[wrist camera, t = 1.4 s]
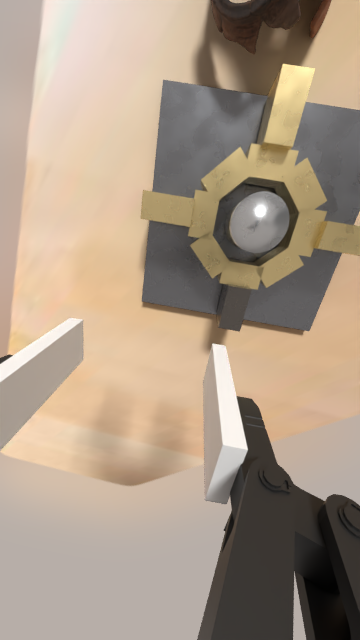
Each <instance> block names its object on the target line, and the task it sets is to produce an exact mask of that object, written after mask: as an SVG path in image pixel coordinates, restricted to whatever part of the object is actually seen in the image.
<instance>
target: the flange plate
mask: <svg viewBox="0 0 360 640" xmlns="http://www.w3.org/2000/svg"><path fill="white" fill-rule="evenodd" d="M267 97H268V96H264V95H258V94H251V93H245V92H238V91H232V90H226V89H219V88H213V87H206V86H200V85H193V84H187V83H181V82H174V81H168V80H163V87H162V97H161V108H160V118H159V129H158V139H157V149H156V160H155V170H154V180H153V191H152V192H158V193H164V194H170V195H176V196H181V197H187V198H193V199H194V196H195V190H201V191H204V190H203V189H202V187H201V179H202V178H204V177H205V176H206V175H207V174H208V173H210V172H211V171H212V170H213V169H214V168H215V167H217V166H218V165H219V164H220V163H221V162H223V161H224V160H225V159H226V158H227V157H229V156H230V155H231V154H232V153H233V152H235V151H236V150H237V149H238V148H239V147H241V149H242V151H243V152H244V154H245V153H246V152H247V150H248V148H249V146H250V145H251V143H252V144H256V143H257V139H258V135H259V131H260V126H261V122H262V118H263V114H264V109H265V105H266V101H267ZM290 150H296V151H299V152H298V156H297V159H296V162H295V166H296V165H297V164H298V163H300V162H301V161H303V160H304V159H306V158H308V160H309V162H310V164H311V167H312V169H313V171H314V173H315V175H316V177H317V179H318V182H319V184H320V186H321V188H322V190H323V192H324V195H325V197H326V199H327V201H326V202H325V203H323V204H322V205H320V206H319V207H317V208H316V209H315V210H321V211H327V214H326V216H325V219H324V221H331V222H337V223H343V224H349V225H354V223H355V220H356V218H357V216H358V213H359V211H360V110H354V109H347V108H341V107H335V106H328V105H322V104H315V103H309V102H306V103H305V106H304V109H303V113H302V116H301V120H300V123H299V127H298V130H297V134H296V137H295V141H294V144H293V147H292V148H291V149H290ZM288 226H289V211H288V208H287V205H286V203H285V202H284V201H283V199H282V198H280V197H279V196H278V195H277V193H276V191H275V189H274V188H271V187H265V186H259V185H253V184H247V183H243V184H241V185H240V186H239V187H238V188H236V189H235V190H234V191H232V192H231V193H230V194H229V195H227V196H226V197H225V198H224V199H222V200H221V201H220V202H219V205H218V210H217V215H216V220H215V225H214V230H213V237H214V238H215V240H216V241H217V243H218V244H219V246H220V248H221V249H222V251H223V252H224V254H225V255H226V257H227V258H229V259H235V260H240V261H246V262H252V263H254V262H255V261H257V260H258V259H260V258H261V257H263V256H264V255H266V254H267V253H269V252H270V251H272V250H273V249H275V248H276V247H278V246H279V243H280V241H281V240H282V239H283V237H284V236H285V234H286V232H287V229H288ZM188 233H189V227H186V226H180V225H174V224H168V223H162V222H156V221H150V222H149V232H148V243H147V253H146V264H145V274H144V284H143V295H142V301H143V302H149V303H154V304H160V305H165V306H171V307H177V308H182V309H188V310H194V311H199V312H205V313H210V314H217V309H218V305H219V301H220V297H221V292H222V288H223V284H222V283H219V281H218V275H217V276H215V277H214V278H212V277H211V276H210V274H209V273H208V272H207V270H206V269H205V267H204V266H203V264H202V263H201V261H200V260H199V258H198V257H197V255H196V254H195V252H194V251H193V249H192V248H191V246H190V245H191V244H192V243H193V242H194V241H196V240H197V239H198V238H196V237H190V236H188ZM341 254H342V253H339V252H333V251H327V250H321V249H315V248H314V249H313V252H312V254H311V257H307V256H302V255H299V257H300V259H301V261H302V262H303V264H304V265H303V266H302V267H300V268H298V269H297V270H295V271H293V272H292V273H290V274H289V275H287V276H285V277H284V278H282V279H280V280H279V281H277V282H275V283H274V284H272V285H271V286H269V287H267V288H266V287H265V286H264V285H262V284H261V283H259V287H258V290H256V289H252V291H251V294H250V298H249V301H248V305H247V308H246V312H245V315H244V318H243V319H244V320H250V321H255V322H261V323H266V324H272V325H278V326H283V327H289V328H294V329H300V330H306V331H309V330H310V328H311V326H312V323H313V321H314V319H315V316H316V314H317V311H318V309H319V307H320V304H321V302H322V299H323V297H324V295H325V292H326V290H327V287H328V285H329V283H330V280H331V278H332V275H333V273H334V271H335V268H336V266H337V264H338V261H339V259H340V256H341Z"/></svg>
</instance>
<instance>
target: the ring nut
mask: <svg viewBox="0 0 360 640" xmlns="http://www.w3.org/2000/svg"><path fill="white" fill-rule="evenodd" d="M314 71H315V68H308V67H302V66H295V65H288V64H283V65H282V67H281V69H280V71H279V73H278V75H277V77H276V79H275V81H274V83H273V85H272V87H271V89H270V91H269V93H268V97H267V101H266V105H265V109H264V114H263V118H262V122H261V126H260V131H259V135H258V139H257V143H256V144H252V143H251V145H250V146H249V148H248V150H247V152H246V153H245V154H244V152H243V151H242V149H241V147H239V148H238V149H237V150H236V151H235V152H233V153H232V154H231V155H230V156H229V157H227V158H226V159H225V160H224V161H223V162H221V163H220V164H219V165H218V166H217V167H215V168H214V169H213V170H212V171H211V172H210V173H208V174H207V175H206V176H205V177H204V178H202V179H201V187H202V189H203V190H204V191H201V190H195V196H194V199H193V198H187V197H181V196H176V195H170V194H164V193H158V192H152V191H146V190H143V196H142V209H141V219H146V220H150V221H156V222H162V223H168V224H174V225H180V226H186V227H189V233H188V236H190V237H196V238H198V239H197V240H196V241H194V242H193V243H192V244H191V245H190V246H191V248H192V249H193V251H194V252H195V254H196V255H197V257H198V258H199V260H200V261H201V263H202V264H203V266H204V267H205V269H206V270H207V272H208V273H209V274H210V276H211V277H212V278H214V277H215V276H217V275H218V281H219V283H222V284H223V288H222V292H221V297H220V301H219V305H218V309H217V314H216V317H217V323H218V328H223V329H229V330H235V331H240V329H241V325H242V322H243V318H244V315H245V312H246V308H247V305H248V301H249V298H250V294H251V291H252V289H256V290H258V287H259V283H261V284H262V285H264V286H265V287H266V288H267V287H269V286H271V285H272V284H274V283H275V282H277V281H279V280H280V279H282V278H284V277H285V276H287V275H289V274H290V273H292V272H293V271H295V270H297V269H298V268H300V267H302V266H303V265H304V264H303V262H302V261H301V259H300V257H299V255H302V256H307V257H311V254H312V252H313V249H314V248H315V249H321V250H327V251H333V252H339V253H345V254H351V255H358V256H360V226H355V225H349V224H343V223H337V222H331V221H324V219H325V216H326V214H327V211H321V210H315V209H316V208H317V207H319V206H320V205H322V204H323V203H325V202H326V201H327V199H326V197H325V195H324V192H323V190H322V188H321V186H320V184H319V182H318V179H317V177H316V175H315V173H314V171H313V169H312V167H311V164H310V162H309V160H308V158H306V159H304V160H303V161H301V162H300V163H298V164H297V165H296V166H295V162H296V159H297V156H298V152H299V151H296V150H290V149H291V148H292V147H293V144H294V141H295V137H296V134H297V130H298V127H299V123H300V120H301V116H302V113H303V109H304V106H305V103H306V99H307V96H308V92H309V89H310V85H311V82H312V78H313V75H314ZM243 183H247V184H253V185H259V186H265V187H271V188H274V189H275V191H276V193H277V195H278V196H279V197H280V198H282V199H283V201H284V202H285V203H286V205H287V208H288V211H289V226H288V229H287V232H286V234H285V236H284V237H283V239H282V240H281V241H280V243H279V246H278V247H276V248H275V249H273V250H272V251H270V252H269V253H267V254H266V255H264V256H263V257H261V258H260V259H258V260H257V261H255V262H254V263H252V262H246V261H240V260H235V259H229V258H227V257H226V255H225V254H224V252H223V251H222V249H221V248H220V246H219V244H218V243H217V241H216V240H215V238H214V237H213V230H214V225H215V220H216V215H217V210H218V205H219V202H220V201H221V200H222V199H224V198H225V197H226V196H227V195H229V194H230V193H231V192H232V191H234V190H235V189H236V188H238V187H239V186H240V185H241V184H243Z"/></svg>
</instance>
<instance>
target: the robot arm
mask: <svg viewBox="0 0 360 640" xmlns="http://www.w3.org/2000/svg"><path fill="white" fill-rule="evenodd" d="M82 361H83V320H81V319H75V318H69V319H68V320H66V321H65V322H63V323H62V324H60V325H59V326H57V327H56V328H54V329H53V330H51V331H49V332H48V333H46V334H45V335H43V336H42V337H40V338H39V339H37V340H36V341H34V342H33V343H31V344H30V345H28V346H27V347H25V348H24V349H22V350H21V351H19V352H18V353H16V354H15V355H7V356H4V357H2V358H0V451H1V449H2V448H3V447H4V446H5V445H6V444H7V443H8V442H9V441H10V440H11V438H12V437H13V436H14V435H15V434H16V433H17V432H18V431H19V430H20V429H21V428H22V426H23V425H24V424H25V423H26V422H27V421H28V420H29V419H30V418H31V417H32V415H33V414H34V413H35V412H36V411H37V410H38V409H39V408H40V407H41V406H42V405H43V403H44V402H45V401H46V400H47V399H48V398H49V397H50V396H51V395H52V394H53V393H54V391H55V390H56V389H57V388H58V387H59V386H60V385H61V384H62V383H63V382H64V380H65V379H66V378H67V377H68V376H69V375H70V374H71V373H72V372H73V371H74V370H75V368H76V367H77V366H78V365H79V364H80V363H81V362H82ZM203 410H204V472H205V473H204V475H205V500H206V501H211V502H217V503H222V504H227V502H228V499H229V496H230V497H231V505H232V512H231V514H230V516H229V519H228V522H227V524H226V526H225V529H224V531H225V535H224V539H223V543H222V547H221V551H220V555H219V558H218V562H217V566H216V570H215V574H214V577H213V581H212V585H211V589H210V593H209V597H208V600H207V604H206V608H205V612H204V616H203V620H202V623H201V627H200V631H199V635H198V639H197V640H293V605H294V603H293V600H294V571H295V576H296V582H297V588H298V594H299V599H300V605H301V611H302V617H303V622H304V628H305V634H306V640H360V506H359V505H358V504H357V503H355V502H354V501H353V500H351V499H349V498H347V497H345V496H342V495H336V494H333V495H331V496H329V497H327V499H326V501H323V500H321V499H319V498H317V497H315V496H314V495H311V494H309V493H308V492H306V491H304V490H302V489H300V488H299V487H297V486H295V485H294V484H293V482H292V480H291V478H290V476H289V475H288V474H287V473H286V472H285V471H284V469H283V468H282V467H280V466H279V465H278V464H277V462H276V459H275V456H274V452H273V449H272V446H271V443H270V440H269V437H268V434H267V431H266V429H265V425H264V422H263V420H262V416H261V413H260V410H259V408H258V406H257V405H256V404H255V403H254V401H253V400H252V399H249V398H244V397H238V396H236V393H235V388H234V383H233V379H232V374H231V369H230V365H229V360H228V355H227V351H226V346H224V345H218V344H213V343H212V347H211V351H210V355H209V359H208V364H207V368H206V372H205V376H204V380H203Z"/></svg>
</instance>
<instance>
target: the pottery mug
mask: <svg viewBox="0 0 360 640" xmlns="http://www.w3.org/2000/svg"><path fill="white" fill-rule="evenodd" d="M211 3H212V10H213V15H214V19H215V22H216V24H217V27H218V29H219V31H220V32H224V36H225V38H226V39H228V40H230V41H234V42H237V43H239V44H241V45H242V46H243V47H245V48H246V49H247V50H248V51H249V52H251V53H252V54H255V52H256V41H257V38H258V34H259V30H260V26H261V23H262V21H265V22H266V24H267V25H268V26H269V27H272V28H280V27H282V28H284V29H285V30H288V29H290V28H291V27H292V26H293V25H294V24H295V23H297V22H298V20H299V19H300V17H301V11H300V5H299V0H251V1H248V2H245V3H232V2H230V1H229V0H211ZM330 3H331V0H322V2H321V4H320V6H319V8H318V10H317V12H316V14H315V16H314V17H313V19H312V21H311V23H310V28H311V31H310V37H311V38H313V37H314V36H315V35H316V33H317V31H318V30H319V28H320V26H321V24H322V23H323V21H324V18H325V16H326V14H327V11H328V9H329V6H330Z"/></svg>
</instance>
